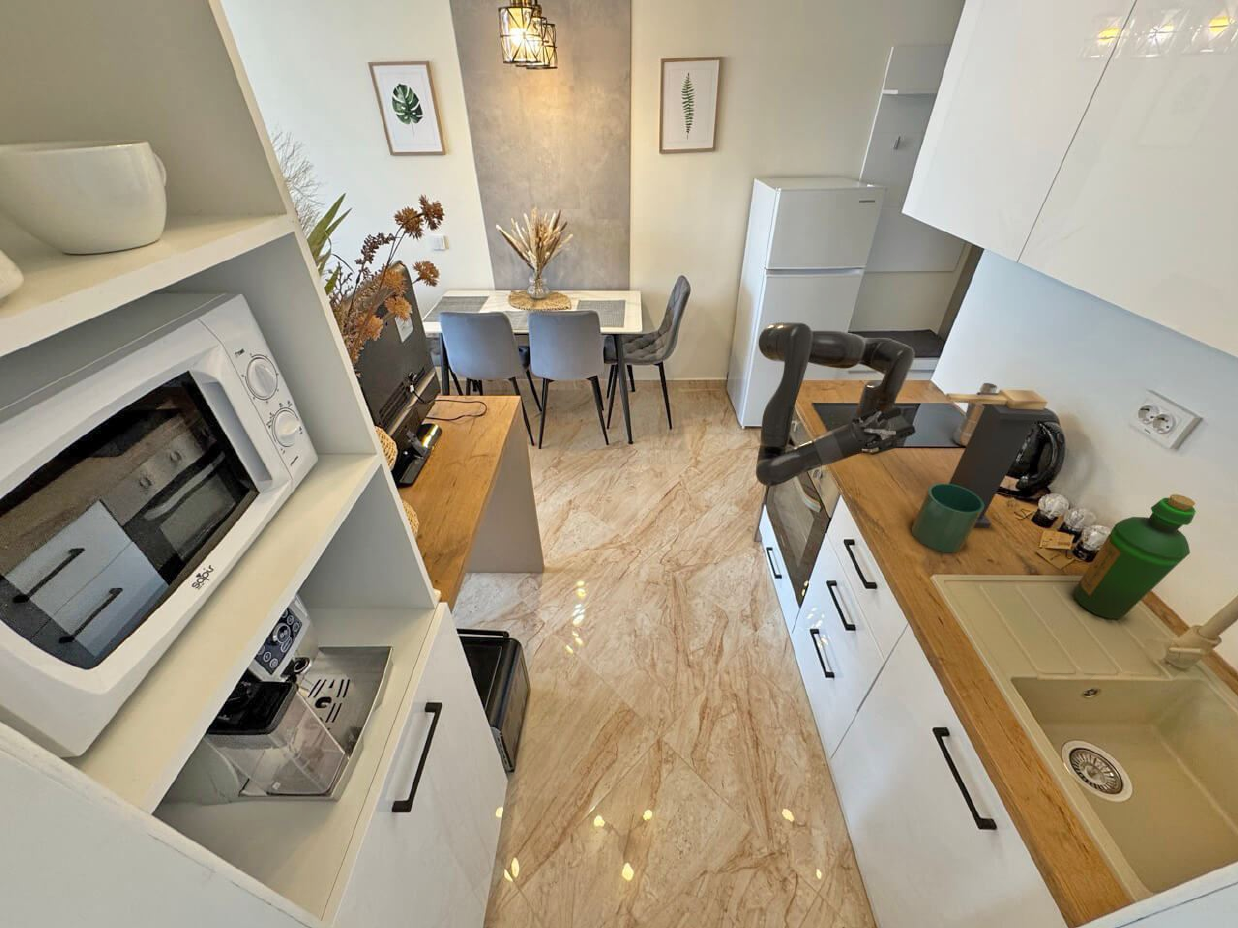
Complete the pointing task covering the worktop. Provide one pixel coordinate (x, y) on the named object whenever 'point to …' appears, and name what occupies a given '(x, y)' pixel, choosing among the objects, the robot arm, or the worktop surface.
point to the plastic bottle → (972, 417)
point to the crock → (947, 517)
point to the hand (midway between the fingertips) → (907, 418)
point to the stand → (994, 450)
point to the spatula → (1003, 399)
